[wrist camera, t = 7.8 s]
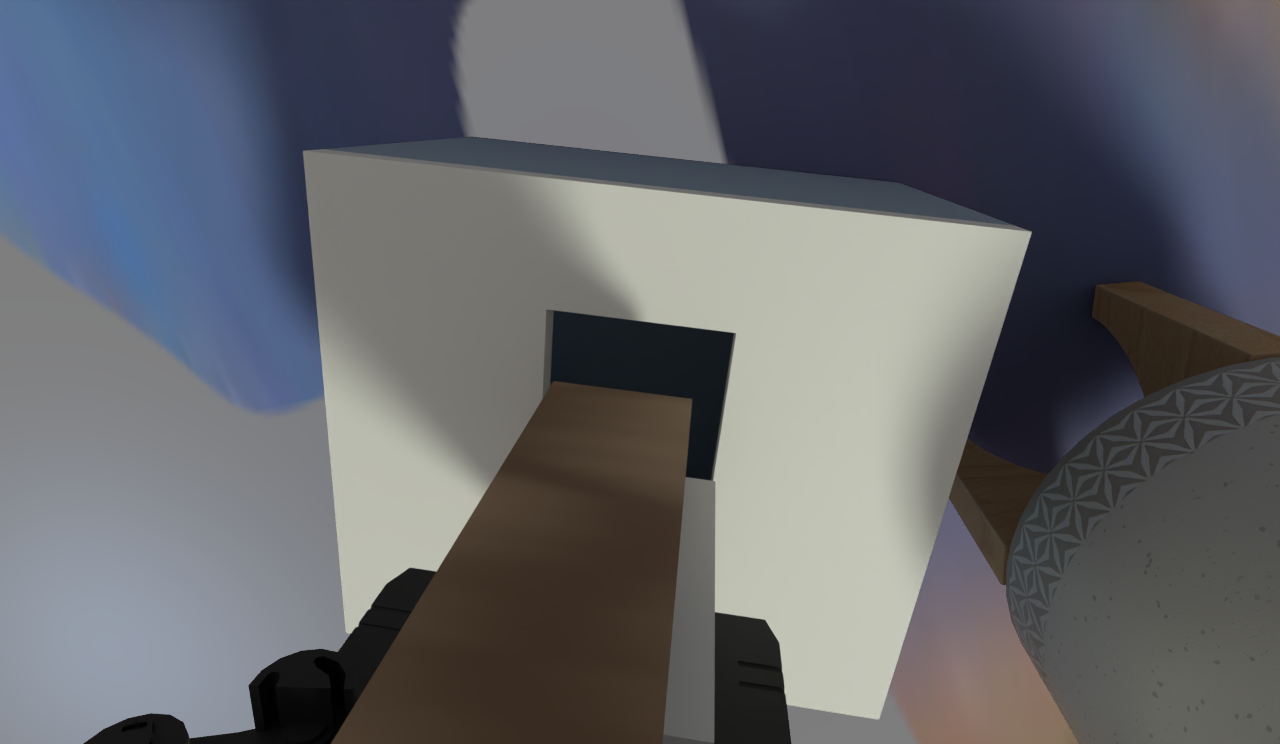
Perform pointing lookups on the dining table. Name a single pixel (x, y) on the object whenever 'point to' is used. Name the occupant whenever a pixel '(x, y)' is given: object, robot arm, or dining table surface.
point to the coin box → (663, 362)
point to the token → (550, 590)
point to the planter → (1152, 537)
